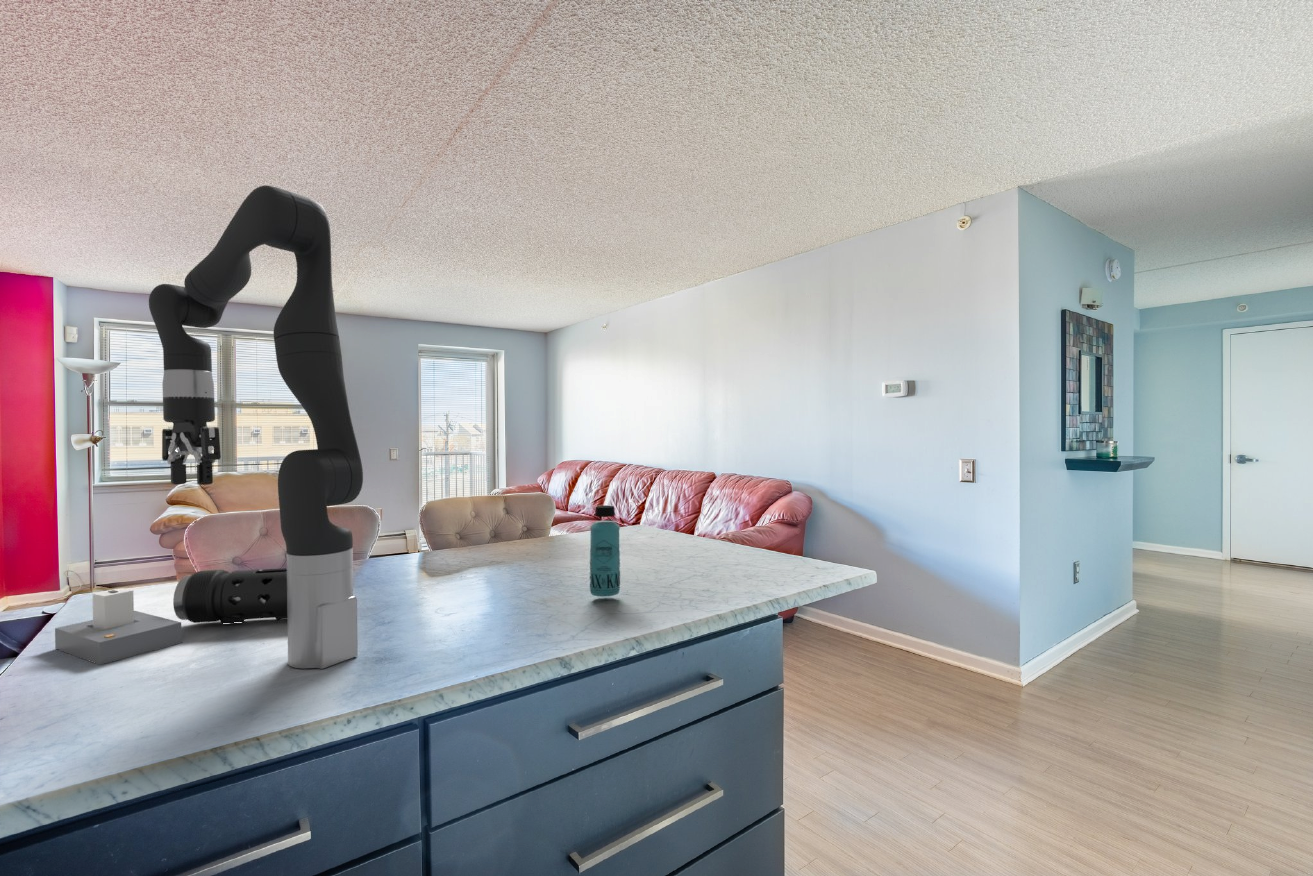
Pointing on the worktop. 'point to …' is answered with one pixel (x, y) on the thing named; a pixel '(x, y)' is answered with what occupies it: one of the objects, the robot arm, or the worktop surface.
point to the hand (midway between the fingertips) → (191, 484)
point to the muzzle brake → (231, 595)
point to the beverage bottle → (604, 555)
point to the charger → (113, 608)
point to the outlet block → (118, 638)
